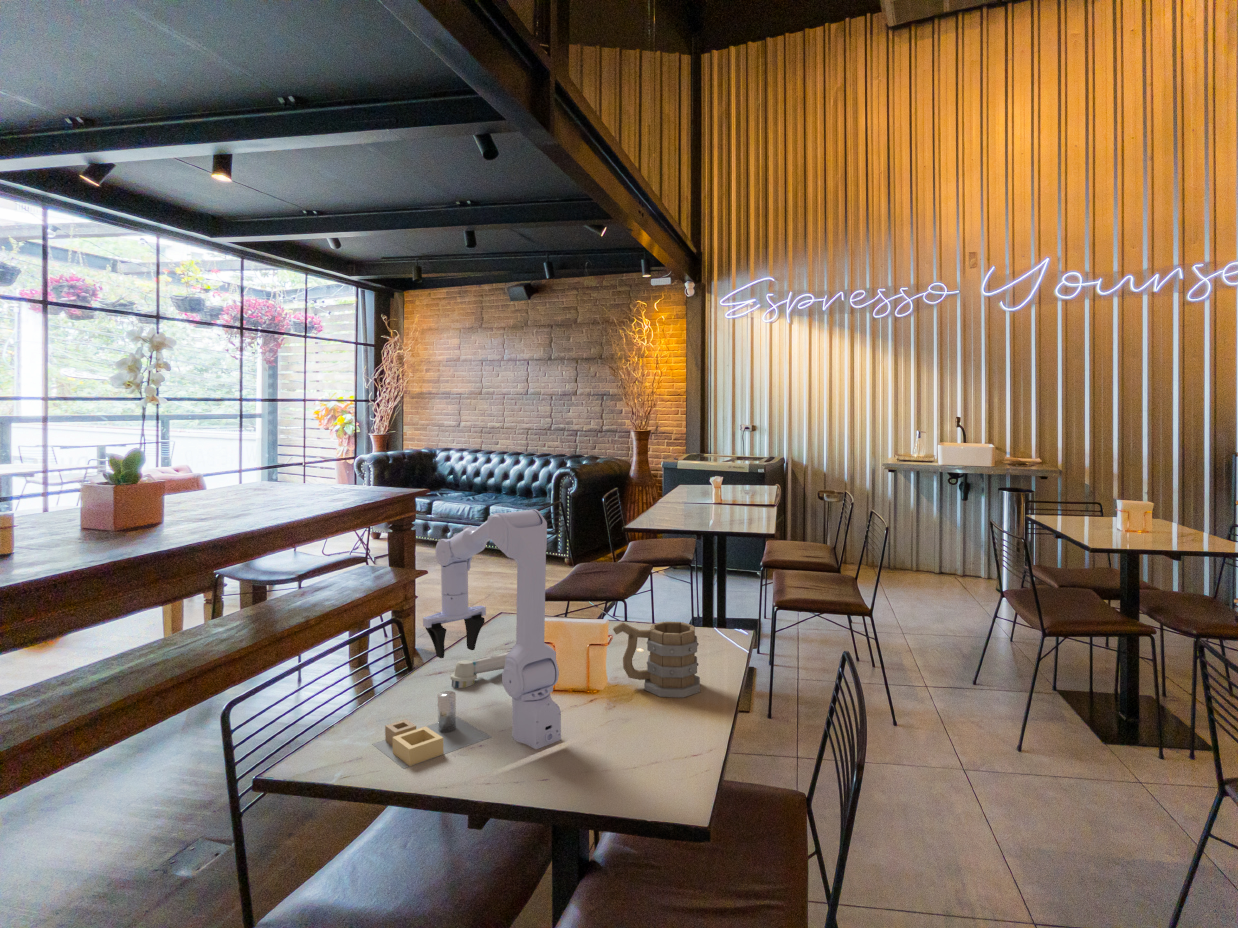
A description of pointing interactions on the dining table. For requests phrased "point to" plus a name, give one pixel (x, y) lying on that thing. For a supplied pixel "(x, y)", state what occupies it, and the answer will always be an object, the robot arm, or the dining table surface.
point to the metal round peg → (446, 711)
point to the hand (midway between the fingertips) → (455, 652)
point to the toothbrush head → (475, 669)
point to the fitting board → (425, 741)
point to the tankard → (665, 658)
